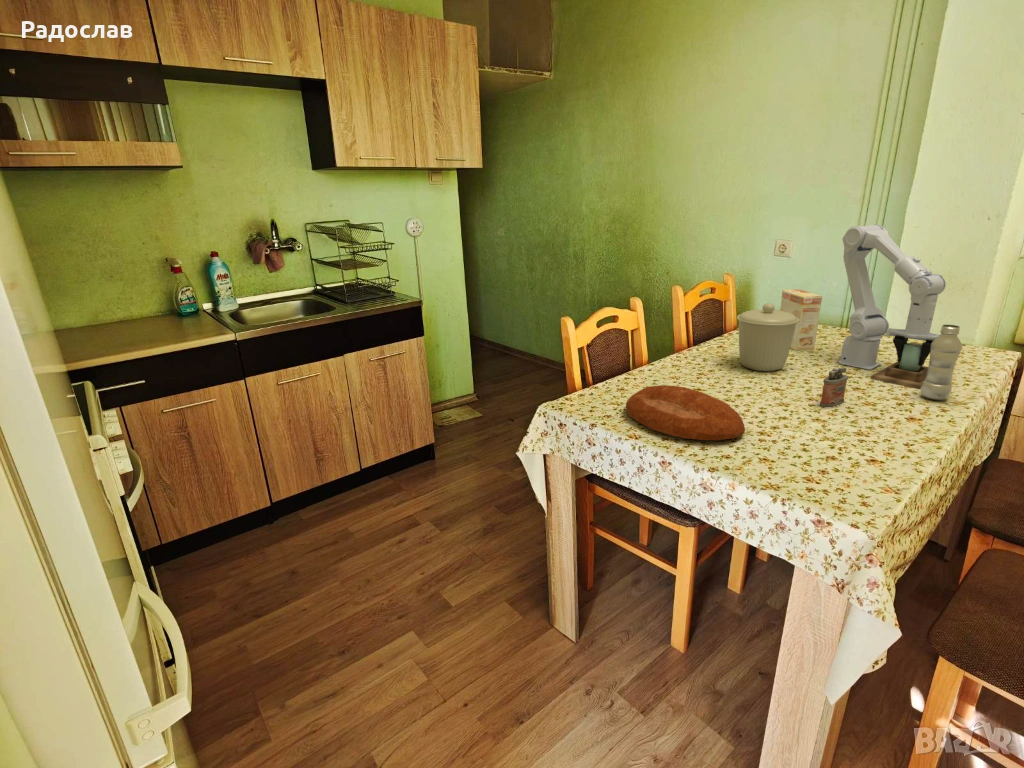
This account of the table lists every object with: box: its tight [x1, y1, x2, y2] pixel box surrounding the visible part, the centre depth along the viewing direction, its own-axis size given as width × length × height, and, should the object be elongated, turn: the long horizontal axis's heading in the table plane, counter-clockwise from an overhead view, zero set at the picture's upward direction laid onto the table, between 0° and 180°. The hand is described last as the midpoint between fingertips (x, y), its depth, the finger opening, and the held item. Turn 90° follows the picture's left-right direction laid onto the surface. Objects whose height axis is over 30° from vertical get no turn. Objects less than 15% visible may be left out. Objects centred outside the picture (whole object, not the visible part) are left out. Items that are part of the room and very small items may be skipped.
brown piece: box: [870, 361, 929, 390], centre depth 155 cm, size 14×14×4 cm
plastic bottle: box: [920, 324, 963, 401], centre depth 138 cm, size 6×7×20 cm
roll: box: [899, 342, 922, 372], centre depth 154 cm, size 5×5×8 cm
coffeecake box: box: [779, 288, 823, 351], centre depth 191 cm, size 15×7×20 cm, turn 179°
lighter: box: [819, 366, 849, 408], centre depth 139 cm, size 8×3×10 cm, turn 117°
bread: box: [625, 384, 746, 441], centre depth 133 cm, size 23×32×9 cm
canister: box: [736, 302, 799, 372], centre depth 169 cm, size 18×18×21 cm
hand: (910, 363), depth 154 cm, fingers closed on roll, 5 cm apart
